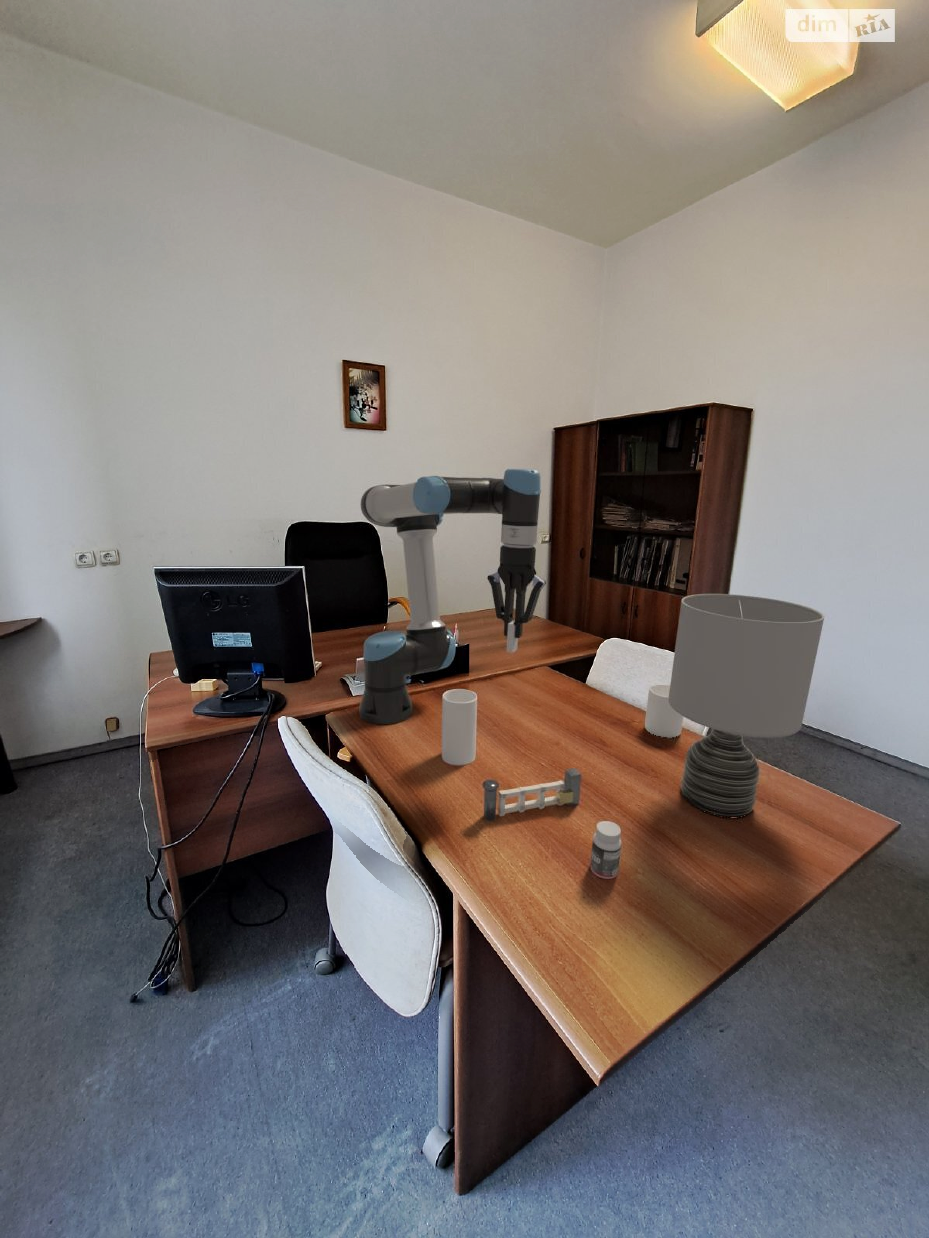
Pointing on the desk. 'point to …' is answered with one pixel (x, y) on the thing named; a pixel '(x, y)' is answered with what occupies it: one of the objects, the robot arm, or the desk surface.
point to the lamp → (739, 688)
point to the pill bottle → (606, 850)
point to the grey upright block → (570, 788)
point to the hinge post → (490, 799)
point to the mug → (662, 713)
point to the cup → (459, 726)
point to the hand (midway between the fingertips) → (511, 650)
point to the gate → (532, 803)
